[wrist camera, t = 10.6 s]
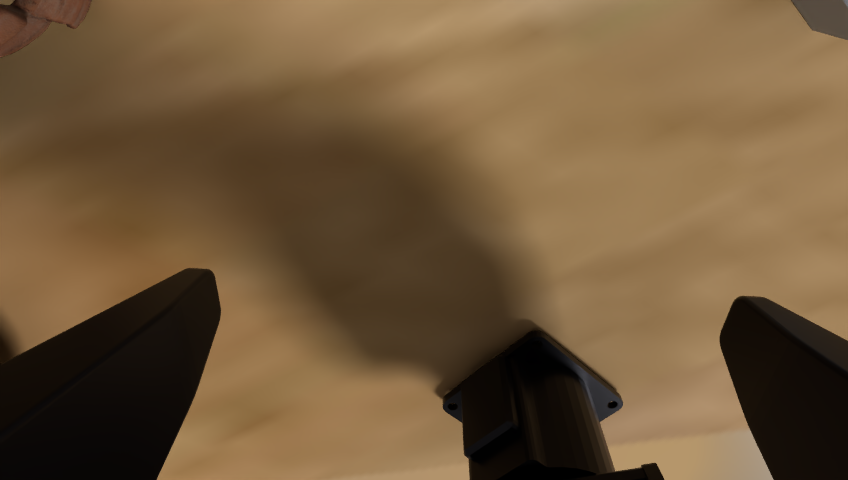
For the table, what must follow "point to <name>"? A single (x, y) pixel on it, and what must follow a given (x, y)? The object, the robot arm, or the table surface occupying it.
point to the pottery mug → (36, 20)
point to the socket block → (825, 16)
